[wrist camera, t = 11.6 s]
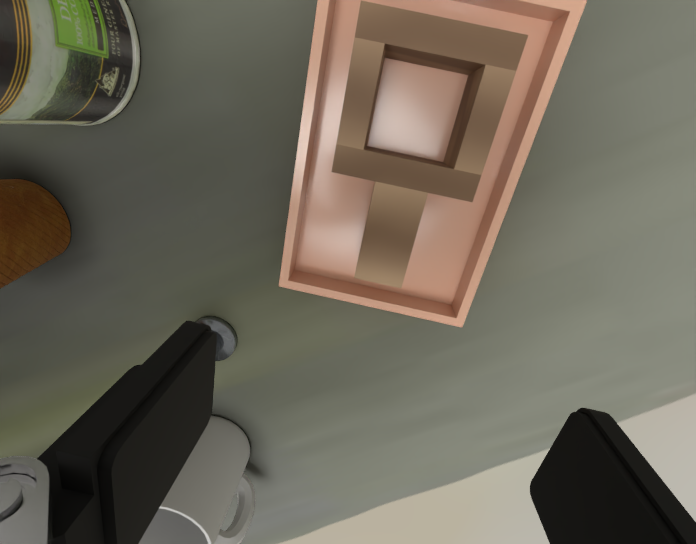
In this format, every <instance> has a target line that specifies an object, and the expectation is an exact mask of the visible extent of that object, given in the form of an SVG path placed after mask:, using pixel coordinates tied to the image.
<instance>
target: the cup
mask: <svg viewBox="0 0 696 544" xmlns="http://www.w3.org/2000/svg"><path fill="white" fill-rule="evenodd" d="M249 456H250V445H249V442H248V438H247V437H246V435H245V433H244V432H243V431H242V430H241V429H240V428H239V427H238V426H237V425H236V424H234V423H232V422H231V421H229V420H227V419H224V418H222V417H217V416H211V417H210V420H209V423H208V425H207V427H206V428H205V430H204V432H203V434H202V435H201V437H200V439H199V440H198V442H197V444H196V446H195V447H194V449H193V451H192V452H191V454H190V456H189V458H188V459H187V461H186V463H185V464H184V466H183V468H182V470H181V471H180V473H179V475H178V476H177V478H176V480H175V482H174V483H173V485H172V487H171V489H170V490H169V492H168V494H167V495H166V497H165V499H164V501H163V502H162V504H161V506H160V507H159V509H158V511H157V513H156V514H155V516H154V518H153V519H152V521H151V523H150V525H149V526H148V528H147V530H146V531H145V533H144V535H143V537H142V538H141V540H140V542H139V544H239V543H240V542H241V541H242V539H243V538H244V536H245V534H246V532H247V530H248V528H249V526H250V523H251V520H252V517H253V514H254V508H255V491H254V488H253V485H252V482H251V481H250V480H249V478H248V477H247V476H246V475H245V474H244V473H243V472H244V470H245V467H246V465H247V462H248V460H249ZM235 493H236V495H237V499H238V504H237V510H236V515H235V517H234V520H233V522H232V524H231V525H230V527H229V528H228V529H227V530H226V531H223V530H221V529H220V528H221V526H222V524H223V521H224V519H225V516H226V514H227V511H228V509H229V506H230V504H231V501H232V499H233V497H234V494H235Z"/></svg>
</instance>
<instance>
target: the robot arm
mask: <svg viewBox="0 0 696 544" xmlns="http://www.w3.org/2000/svg"><path fill="white" fill-rule="evenodd" d="M216 344H217V334H216V333H215V332H211V327H210V326H209V325H206V324H201V323H197V322H192V321H186V322H185V323H183V324H182V325H181V326H180V327H179V328H178V329H177V330H176V331H175V332H174V333H173V334H172V335H171V336H170V337H169V338H168V339H167V340H166V341H165V342H164V343H163V344H162V345H161V346H160V347H159V348H158V349H157V350H156V351H155V352H154V353H153V354H152V355H151V356H150V357H149V358H148V359H147V360H146V361H145V362H144V363H143V364H142V365H136V366H134V367H132V368H131V369H130V370H129V371H127V372H126V373H125V374H124V375H123V376H122V377H121V378H120V379H119V380H118V381H117V382H116V383H115V384H114V385H113V386H112V387H111V388H110V389H109V390H108V391H107V392H106V393H105V394H104V395H103V396H102V397H101V398H100V399H98V400H97V401H96V402H95V403H94V404H93V405H92V406H91V407H90V408H89V409H88V410H87V411H86V412H85V413H84V414H83V415H82V416H81V417H80V418H79V419H78V420H77V421H76V422H75V423H74V424H73V425H72V426H71V427H69V428H68V429H67V430H66V431H65V432H64V433H63V434H62V435H61V436H60V437H59V438H58V439H57V440H56V441H55V442H54V443H53V444H52V445H51V446H50V447H49V448H48V449H47V450H46V451H45V452H44V453H43V454H42V455H40V456H39V457H38V458H37V459H34V458H31V457H28V456H11V457H6V458H1V459H0V544H139V542H140V540H141V538H142V537H143V535H144V533H145V531H146V530H147V528H148V526H149V525H150V523H151V521H152V519H153V518H154V516H155V514H156V513H157V511H158V509H159V507H160V506H161V504H162V502H163V501H164V499H165V497H166V495H167V494H168V492H169V490H170V489H171V487H172V485H173V483H174V482H175V480H176V478H177V476H178V475H179V473H180V471H181V470H182V468H183V466H184V464H185V463H186V461H187V459H188V458H189V456H190V454H191V452H192V451H193V449H194V447H195V446H196V444H197V442H198V440H199V439H200V437H201V435H202V434H203V432H204V430H205V428H206V427H207V425H208V423H209V420H210V417H211V413H212V403H213V388H214V373H215V359H216ZM530 494H531V497H532V500H533V503H534V505H535V508H536V510H537V513H538V515H539V518H540V520H541V523H542V525H543V527H544V530H545V532H546V535H547V537H548V540H549V542H550V544H696V522H695V521H694V520H693V518H692V517H691V516H690V515H689V513H688V512H687V511H686V510H685V509H684V507H683V506H682V505H681V503H680V502H679V501H678V500H677V498H676V497H675V496H674V495H673V493H672V492H671V491H670V489H669V488H668V487H667V486H666V485H665V483H664V482H663V481H662V479H661V478H660V477H659V476H658V474H657V473H656V472H655V471H654V469H653V468H652V467H651V466H650V464H649V463H648V462H647V461H646V459H645V458H644V457H643V456H642V454H641V453H640V452H639V451H638V449H637V448H636V447H635V445H634V444H633V443H632V442H631V441H630V439H629V438H628V437H627V435H626V434H625V433H624V432H623V431H622V429H621V428H620V427H619V425H618V424H617V423H616V422H615V420H614V419H613V418H612V417H611V416H610V415H609V414H607V413H605V412H601V411H596V410H591V409H587V408H580V409H578V410H577V411H576V412H573V413H571V414H570V416H569V417H568V419H567V421H566V422H565V424H564V426H563V428H562V429H561V431H560V433H559V435H558V436H557V438H556V440H555V441H554V443H553V445H552V447H551V448H550V450H549V452H548V453H547V455H546V457H545V459H544V460H543V462H542V464H541V466H540V467H539V469H538V471H537V473H536V474H535V476H534V478H533V479H532V481H531V485H530Z"/></svg>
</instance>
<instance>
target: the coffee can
mask: <svg viewBox="0 0 696 544" xmlns="http://www.w3.org/2000/svg"><path fill="white" fill-rule="evenodd" d="M139 69H140V48H139V41H138V35H137V31H136V27H135V23H134V20H133V17H132V15H131V12H130V10H129V8H128V6H127V4H126V2H125V0H0V124H72V125H80V126H89V125H95V124H101V123H103V122H105V121H107V120H109V119H111V118H113V117H114V116H116V115H117V114H118V113H119V112H121V111H122V110H123V108H124V107H125V106H126V105H127V103H128V102H129V100H130V99H131V97H132V95H133V92H134V90H135V88H136V85H137V81H138V76H139Z"/></svg>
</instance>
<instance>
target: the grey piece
mask: <svg viewBox="0 0 696 544" xmlns="http://www.w3.org/2000/svg"><path fill="white" fill-rule="evenodd" d="M196 322H197V323H201V324H206V325H209V326H210V327H211V332H215V333H216V334H217V344H216V359H215V361H220V360H224V359H226V358H228V357H229V356H230V355H231V354H232V353H233V351H234V350H235V348H236V346H237V336H236V333H235V331H234V329H233V328H232V327H231V325H230V324H228V323H227V322H226V321H224V320H222V319H220V318H217V317H212V316H208V317H203V318H200V319H199V320H197V321H196Z"/></svg>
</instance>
